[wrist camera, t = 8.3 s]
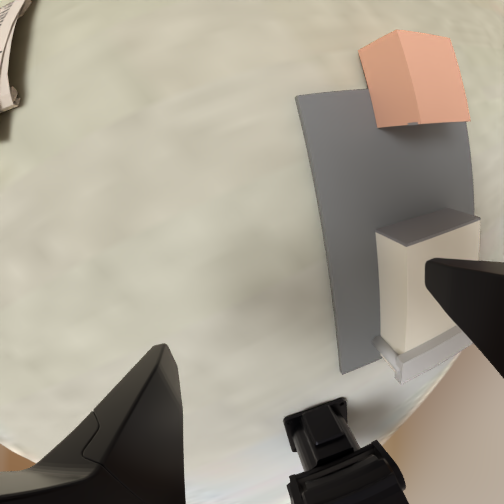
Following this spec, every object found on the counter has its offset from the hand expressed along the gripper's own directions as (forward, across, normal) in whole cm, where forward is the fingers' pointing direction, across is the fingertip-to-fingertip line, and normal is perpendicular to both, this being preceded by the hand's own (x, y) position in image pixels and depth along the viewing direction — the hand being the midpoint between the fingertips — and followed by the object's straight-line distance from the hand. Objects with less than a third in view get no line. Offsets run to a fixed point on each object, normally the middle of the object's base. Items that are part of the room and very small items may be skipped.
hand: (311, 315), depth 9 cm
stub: (+11, -13, -8) cm, 19 cm away
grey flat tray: (+12, -13, +4) cm, 18 cm away
